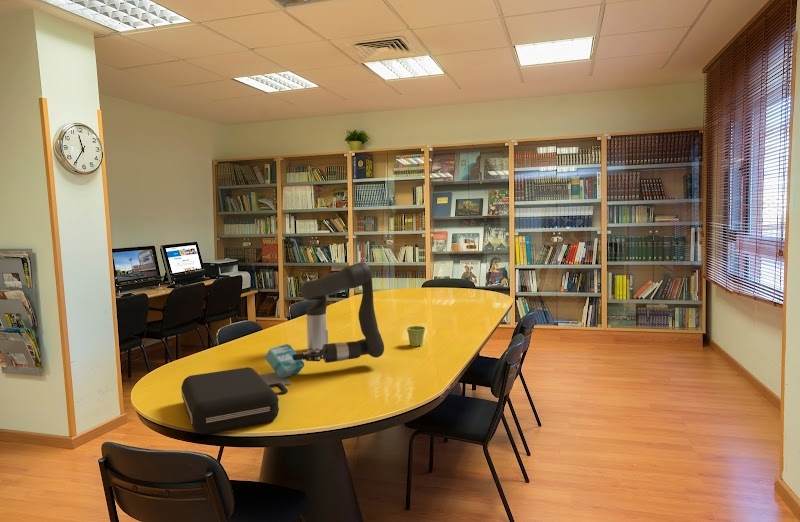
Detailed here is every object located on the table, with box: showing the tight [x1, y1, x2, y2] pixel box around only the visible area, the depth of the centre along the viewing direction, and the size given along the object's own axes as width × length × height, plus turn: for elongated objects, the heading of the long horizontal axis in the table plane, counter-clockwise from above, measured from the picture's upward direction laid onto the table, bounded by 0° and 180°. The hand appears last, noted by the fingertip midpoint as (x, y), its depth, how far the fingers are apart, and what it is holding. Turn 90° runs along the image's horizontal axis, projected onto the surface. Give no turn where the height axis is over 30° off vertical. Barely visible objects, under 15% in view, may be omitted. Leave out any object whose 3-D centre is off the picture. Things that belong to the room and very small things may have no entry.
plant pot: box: [406, 325, 426, 347], centre depth 256 cm, size 9×9×9 cm
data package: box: [264, 343, 305, 378], centre depth 211 cm, size 12×4×12 cm
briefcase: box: [180, 366, 289, 436], centre depth 174 cm, size 36×32×10 cm
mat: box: [259, 371, 291, 389], centre depth 205 cm, size 14×18×1 cm
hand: (293, 357), depth 208 cm, fingers closed
